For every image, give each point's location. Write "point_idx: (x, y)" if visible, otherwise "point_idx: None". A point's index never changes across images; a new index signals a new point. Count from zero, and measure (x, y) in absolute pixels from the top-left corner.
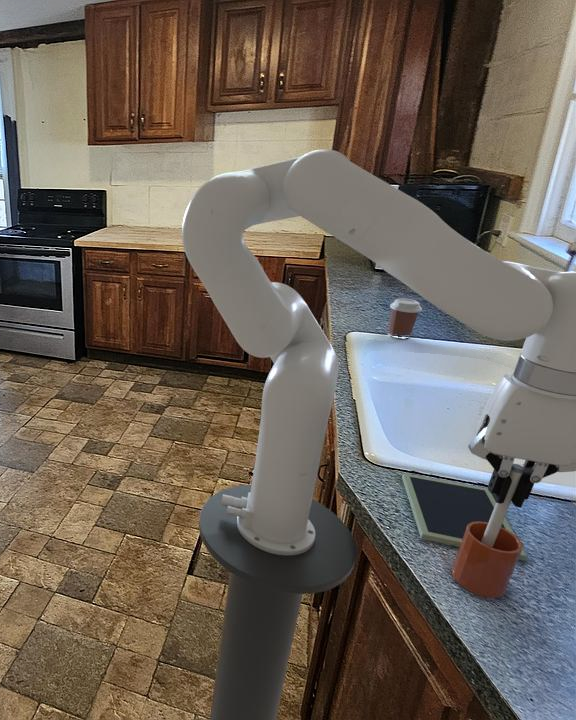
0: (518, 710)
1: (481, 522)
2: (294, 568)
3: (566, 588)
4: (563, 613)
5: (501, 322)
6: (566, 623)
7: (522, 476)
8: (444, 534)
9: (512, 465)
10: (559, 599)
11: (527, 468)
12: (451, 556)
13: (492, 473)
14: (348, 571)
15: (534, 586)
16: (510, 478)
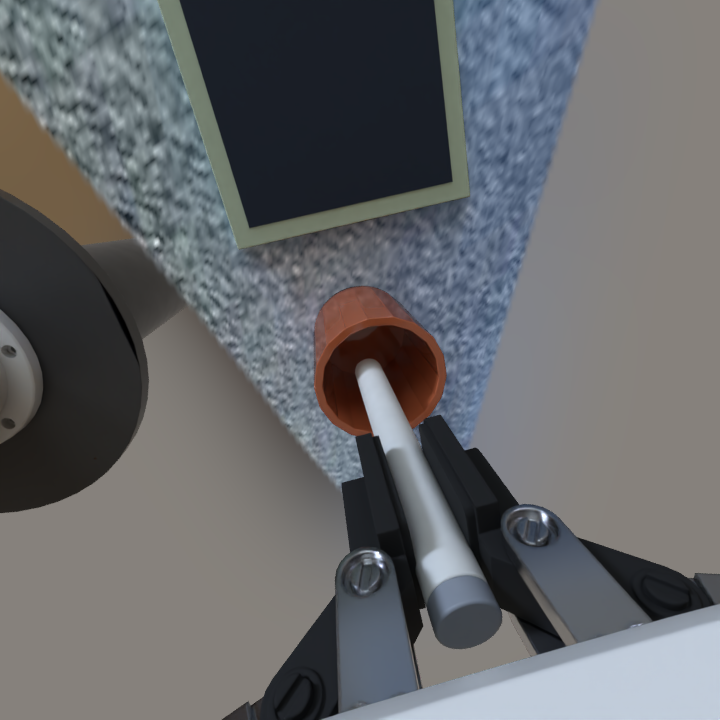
0: None
1: (353, 330)
2: (50, 455)
3: (523, 253)
4: (495, 337)
5: None
6: (492, 361)
7: (482, 567)
8: (288, 218)
9: (440, 636)
10: (499, 299)
11: (523, 583)
12: (311, 278)
13: (348, 536)
14: (140, 404)
15: (464, 284)
16: (421, 602)
